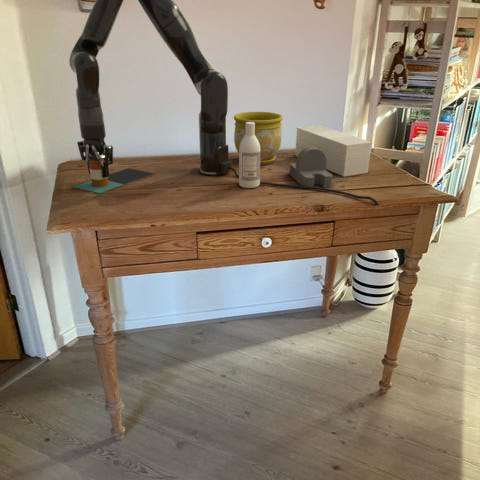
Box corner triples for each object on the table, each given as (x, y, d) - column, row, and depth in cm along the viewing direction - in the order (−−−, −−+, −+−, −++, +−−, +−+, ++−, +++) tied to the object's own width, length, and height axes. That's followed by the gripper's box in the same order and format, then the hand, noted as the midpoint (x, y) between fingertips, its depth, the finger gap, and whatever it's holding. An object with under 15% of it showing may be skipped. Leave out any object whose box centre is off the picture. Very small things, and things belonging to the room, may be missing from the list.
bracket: (305, 188, 172) (307, 155, 166) (288, 173, 187) (290, 142, 181) (332, 186, 174) (335, 153, 168) (314, 171, 188) (316, 141, 183)
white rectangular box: (367, 173, 187) (371, 142, 182) (343, 176, 183) (347, 145, 178) (317, 152, 212) (319, 125, 206) (295, 155, 208) (296, 127, 202)
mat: (153, 174, 185) (153, 173, 185) (99, 193, 166) (99, 192, 166) (128, 169, 190) (128, 168, 190) (73, 187, 172) (73, 186, 172)
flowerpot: (272, 169, 191) (274, 122, 182) (227, 164, 196) (226, 118, 188) (286, 157, 205) (288, 113, 197) (243, 153, 211) (243, 110, 202)
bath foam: (263, 187, 173) (265, 123, 163) (244, 189, 170) (245, 125, 160) (253, 181, 178) (254, 119, 168) (235, 183, 176) (235, 121, 165)
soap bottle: (112, 183, 174) (108, 153, 169) (100, 188, 170) (95, 157, 165) (100, 181, 177) (96, 150, 171) (88, 185, 173) (83, 154, 168)
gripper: (117, 122, 162) (123, 176, 171) (84, 117, 169) (92, 169, 178) (99, 126, 157) (106, 182, 166) (66, 121, 164) (75, 175, 173)
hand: (99, 175), depth 172 cm, fingers closed on soap bottle, 5 cm apart
